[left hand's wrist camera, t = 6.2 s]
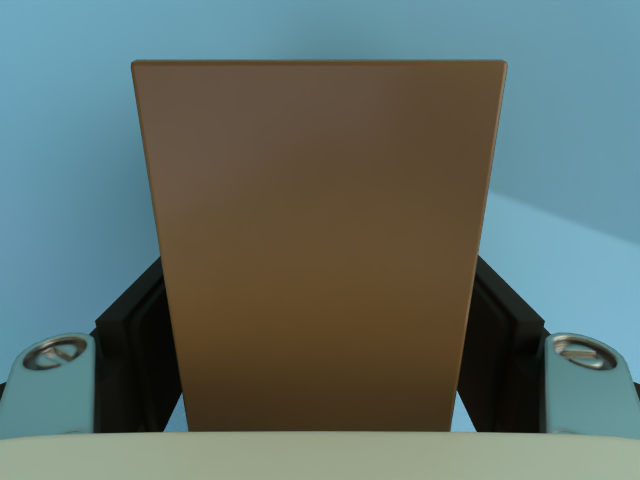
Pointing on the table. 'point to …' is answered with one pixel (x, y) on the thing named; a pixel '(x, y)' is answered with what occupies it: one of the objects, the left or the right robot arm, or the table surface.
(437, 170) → the bar
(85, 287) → the table surface
